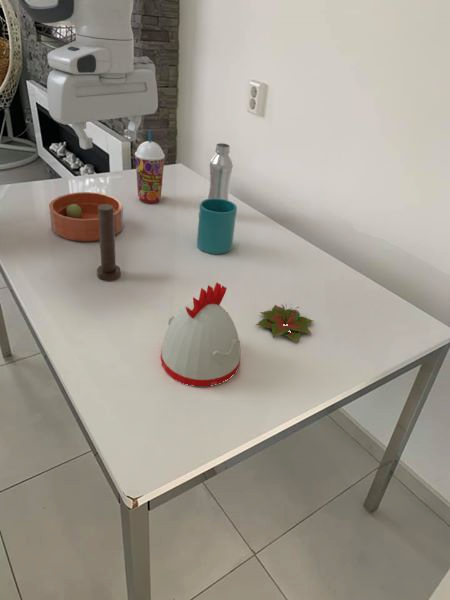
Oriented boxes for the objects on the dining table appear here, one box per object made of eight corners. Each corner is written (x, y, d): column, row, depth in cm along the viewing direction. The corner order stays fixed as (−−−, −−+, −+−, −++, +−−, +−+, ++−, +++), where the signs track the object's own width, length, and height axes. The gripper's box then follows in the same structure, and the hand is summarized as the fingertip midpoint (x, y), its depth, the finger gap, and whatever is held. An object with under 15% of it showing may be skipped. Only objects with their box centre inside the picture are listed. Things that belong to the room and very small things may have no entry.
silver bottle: (225, 210, 135) (232, 142, 124) (229, 219, 130) (237, 149, 119) (204, 209, 134) (209, 141, 123) (207, 219, 129) (213, 148, 117)
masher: (95, 280, 97) (90, 211, 88) (99, 268, 101) (95, 201, 92) (118, 281, 97) (116, 213, 88) (122, 270, 101) (120, 203, 92)
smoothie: (139, 206, 131) (139, 136, 120) (132, 195, 137) (131, 127, 126) (167, 204, 134) (169, 135, 123) (158, 194, 140) (160, 127, 129)
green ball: (65, 221, 117) (63, 207, 115) (68, 215, 120) (67, 201, 118) (80, 222, 117) (79, 208, 115) (84, 216, 121) (82, 202, 119)
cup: (212, 231, 122) (216, 191, 116) (239, 250, 115) (244, 209, 108) (184, 237, 118) (186, 196, 111) (209, 258, 110) (213, 215, 104)
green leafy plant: (271, 301, 97) (274, 283, 95) (323, 322, 93) (328, 304, 90) (244, 328, 88) (247, 309, 86) (300, 353, 84) (305, 334, 81)
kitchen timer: (255, 362, 80) (268, 293, 72) (198, 400, 72) (205, 325, 63) (202, 324, 88) (208, 257, 79) (144, 354, 79) (144, 282, 71)
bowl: (43, 240, 109) (40, 217, 106) (61, 210, 124) (59, 189, 120) (117, 245, 111) (116, 222, 107) (126, 215, 125) (126, 194, 122)
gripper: (142, 53, 81) (142, 132, 89) (37, 54, 67) (47, 147, 75) (166, 59, 78) (164, 141, 86) (60, 61, 64) (69, 158, 72)
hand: (109, 144), depth 80 cm, fingers open, 8 cm apart
